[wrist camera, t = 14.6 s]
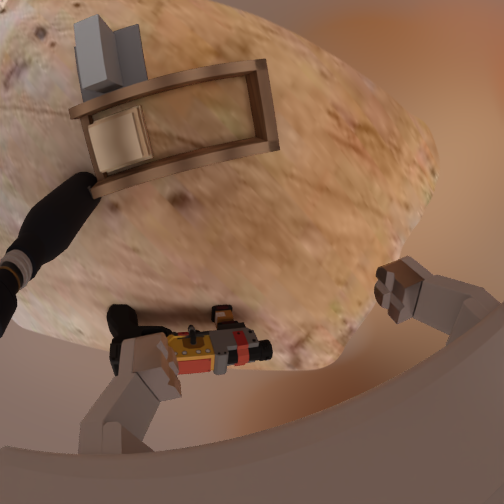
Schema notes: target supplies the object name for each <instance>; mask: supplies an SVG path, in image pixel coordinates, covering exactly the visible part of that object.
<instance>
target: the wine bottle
mask: <svg viewBox="0 0 504 504" xmlns="http://www.w3.org/2000/svg"><path fill="white" fill-rule="evenodd" d="M97 182H98V181H97V178H96V177H95V176H94V175H93V174H91V173H88V172H79V173H77V174H75V175H73V176H72V177H70V178H69V179H68V180H66V181H65V182H64V183H62V184H61V185H60V186H58V187H57V188H56V189H54V190H53V191H52V192H51V193H49V194H48V195H47V196H45V197H44V198H43V199H42V200H41V201H39V202H38V203H37V204H36V205H35V206H34V207H33V208H32V209H31V210H30V211H29V213H28V214H27V216H26V218H25V220H24V222H23V224H22V226H21V229H20V232H19V235H18V238H17V239H16V240H15V241H14V242H13V244H12V245H11V246H10V247H9V248H8V249H7V251H6V254H5V256H4V257H3V258H2V259H1V262H0V338H1V337H2V335H3V334H4V332H5V329H6V328H7V325H8V324H9V322H10V320H11V318H12V316H13V314H14V312H15V310H16V308H17V298H16V293H18V291H19V290H21V289H22V288H24V287H25V286H26V285H27V283H28V282H29V281H30V280H32V279H33V278H34V277H35V275H36V274H37V272H38V271H39V269H40V268H41V266H42V265H43V264H45V263H47V262H49V261H51V260H53V259H54V258H56V257H57V256H58V255H60V254H61V253H62V252H63V251H64V250H65V249H67V248H68V246H69V245H70V243H71V242H72V240H73V239H74V237H75V236H76V234H77V233H78V231H79V230H80V228H81V227H82V225H83V224H84V223H85V221H86V220H87V218H88V217H89V216H90V214H91V213H92V211H93V210H94V209H95V207H96V206H97V205H98V203H99V202H100V199H101V197H99V198H96V199H93V196H92V193H91V190H90V189H91V188H92V187H93V186H94V185H95V184H96V183H97Z"/></svg>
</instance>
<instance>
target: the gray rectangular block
mask: <svg viewBox="0 0 504 504" xmlns="http://www.w3.org/2000/svg"><path fill="white" fill-rule="evenodd" d="M74 32H75V42H76V50H77V58H78V65H79V71H80V77H81V83H82V89H86V90H91V91H96V92H100V93H106V92H109V91H112V90H115V89H118V88H120V87H123V82H122V77H121V71H120V65H119V60H118V53H117V47H116V40H115V34H114V33H113V32H112V30H111V29H110V28H109V27H108V26H107V24H106V23H105V22H104V21H103V20H102V18H101V17H100V16H99V15H98V14H97V15H94V16H91V17H89V18H86V19H84V20H82V21H79V22H77V23H75V24H74Z"/></svg>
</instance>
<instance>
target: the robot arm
mask: <svg viewBox="0 0 504 504" xmlns="http://www.w3.org/2000/svg"><path fill="white" fill-rule="evenodd" d="M376 277H377V278H378V281H377V282H376V284H375V287H374V294H375V298H376V300H377V302H378V304H379V305H380V306H381V307H383V308H386V309H388V315H389V316H390V317H391V318H392V319H393V320H394V321H395V323H396V324H399V323H401V322H403V321H406V320H408V319H410V318H412V317H413V318H414V319H416V320H418V321H421V322H423V323H425V324H427V325H429V326H431V327H433V328H436V329H437V330H440V331H442V332H444V333H446V334H448V335H450V336H449V338H448V340H447V342H446V346H445V347H444V348H442V349H441V350H439V351H438V352H436V353H435V354H433V355H432V356H430V357H428V358H427V359H425V360H423V361H422V362H420V363H418V364H417V365H415V366H414V367H412V368H410V369H408V370H407V371H405V372H403V373H401V374H399V375H397V376H396V377H394V378H392V379H390V380H388V381H386V382H384V383H382V384H380V385H378V386H376V387H374V388H372V389H370V390H368V391H366V392H364V393H362V394H360V395H358V396H355V397H353V398H351V399H349V400H347V401H344V402H342V403H340V404H338V405H335V406H332V407H330V408H327V409H325V410H323V411H320V412H317V413H315V414H312V415H309V416H307V417H304V418H301V419H298V420H295V421H292V422H289V423H286V424H283V425H280V426H277V427H274V428H270V429H267V430H264V431H260V432H256V433H253V434H249V435H245V436H242V437H237V438H233V439H229V440H224V441H219V442H215V443H210V444H204V445H199V446H193V447H187V448H181V449H173V450H165V451H157V452H155V451H153V450H152V449H151V448H150V447H148V446H147V445H146V444H144V443H143V442H142V440H143V438H144V436H145V434H146V432H147V430H148V427H149V425H150V423H151V421H152V419H153V417H154V415H155V412H156V410H157V408H158V406H159V404H160V402H161V401H166V400H170V399H175V398H179V397H182V394H181V384H180V381H179V380H178V378H177V375H178V373H179V365H178V361H177V357H176V355H175V352H174V350H173V348H172V347H170V346H168V339H167V337H166V336H165V334H164V333H163V332H160V333H155V334H150V335H145V336H140V337H136V338H131V339H126V340H124V341H123V342H122V346H121V354H120V363H119V373H118V376H115V377H114V378H113V379H112V381H111V382H110V383H109V385H108V386H107V387H106V389H105V390H104V391H103V393H102V394H101V395H100V397H99V398H98V399H97V401H96V402H95V404H94V405H93V407H92V408H91V409H90V410H89V412H88V413H87V415H86V416H85V417H84V419H83V420H82V422H81V424H80V434H79V448H78V454H65V453H53V452H43V451H35V450H27V449H22V448H16V447H10V446H5V447H2V448H1V449H0V504H504V302H503V303H500V302H498V301H497V300H496V299H495V298H494V297H493V296H492V295H491V294H489V293H488V292H487V291H486V290H485V289H484V288H482V287H478V286H475V285H471V284H468V283H465V282H461V281H458V280H454V279H451V278H447V277H443V276H440V275H433V274H431V273H430V272H429V271H428V270H427V269H425V268H424V267H423V266H422V265H420V264H419V263H418V262H417V261H415V260H414V259H413V258H411V257H409V256H406V257H403V258H401V259H398V260H396V261H394V262H391V263H388V264H386V265H383V266H381V267H378V269H377V271H376Z"/></svg>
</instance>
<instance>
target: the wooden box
mask: <svg viewBox="0 0 504 504" xmlns="http://www.w3.org/2000/svg"><path fill="white" fill-rule="evenodd" d="M244 75H246V81H247V86H248V92H249V98H250V104H251V110H252V116H253V122H254V128H255V134H256V137H254V138H249V139H244V140H238V141H234V142H229V143H224V144H219V145H215V146H211V147H206V148H202V149H198V150H194V151H190V152H186V153H182V154H178V155H174V156H171V157H167V158H164V159H160V160H157V161H153V162H150V163H147V164H143V165H140V166H137V167H134V168H131V169H128V170H124V171H121V172H118V173H116V174H113V175H110V176H108V175H107V172H103V173H102V172H100V170H99V167H98V164H97V160H96V157H95V153H94V149H93V146H92V142H91V138H90V134H89V130H88V126H89V125H91V124H93V119H92V115H93V114H96V113H98V112H101V111H103V110H106V109H109V108H112V107H114V106H117V105H120V104H123V103H126V102H129V101H132V100H135V99H139V98H142V97H145V96H149V95H152V94H156V93H159V92H163V91H167V90H171V89H175V88H179V87H183V86H188V85H192V84H197V83H202V82H207V81H212V80H218V79H224V78H230V77H237V76H244ZM69 114H70V118H71V119H79V118H80V119H81V123H82V127H83V131H84V135H85V139H86V143H87V147H88V151H89V154H90V158H91V161H92V165H93V168H94V172H95V175H96V178H97V181H98V182H97V183H96V184H95V185H94V186H93V187H92V188H91V189H90V190H91V193H92V196H93V199H96V198H99V197H102V196H105V195H108V194H110V193H113V192H116V191H119V190H122V189H125V188H129V187H132V186H135V185H138V184H141V183H145V182H148V181H151V180H155V179H158V178H161V177H165V176H168V175H172V174H176V173H179V172H183V171H187V170H191V169H195V168H199V167H203V166H207V165H211V164H215V163H219V162H224V161H228V160H233V159H237V158H242V157H247V156H252V155H257V154H262V153H267V152H272V151H278V150H280V147H279V139H278V132H277V125H276V119H275V112H274V106H273V99H272V93H271V87H270V81H269V75H268V69H267V63H266V59H257V60H247V61H239V62H231V63H224V64H218V65H212V66H206V67H201V68H196V69H191V70H186V71H182V72H177V73H173V74H169V75H165V76H161V77H157V78H154V79H150V80H146V81H143V82H140V83H136V84H133V85H130V86H127V87H124V88H121V89H118V90H115V91H112V92H110V93H107V94H104V95H101V96H99V97H96V98H94V99H91V100H89V101H86V102H84V103H82V104H79V105H77V106H75V107H72V108H70V109H69Z"/></svg>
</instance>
